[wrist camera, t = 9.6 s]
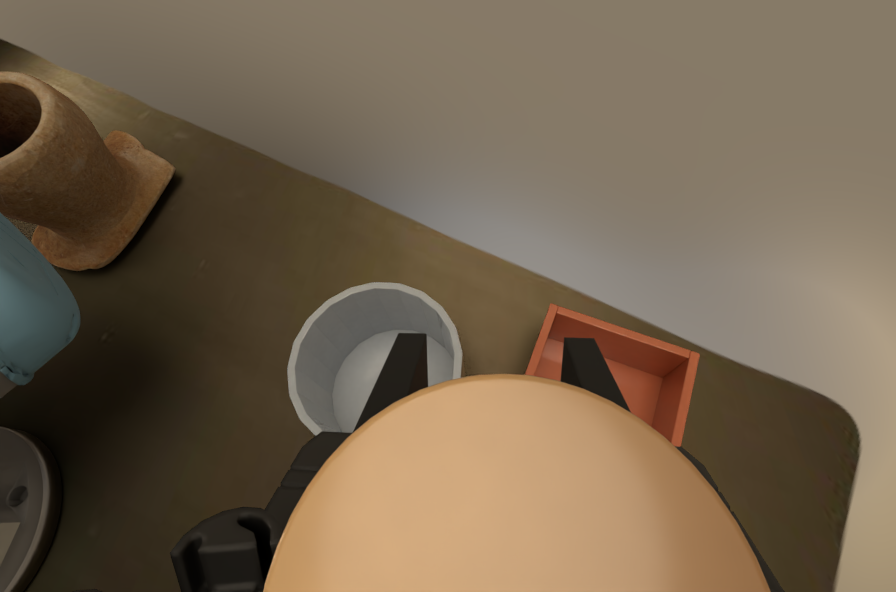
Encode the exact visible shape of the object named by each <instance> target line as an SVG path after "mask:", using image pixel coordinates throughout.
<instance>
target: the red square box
mask: <svg viewBox="0 0 896 592" xmlns="http://www.w3.org/2000/svg"><path fill="white" fill-rule="evenodd" d="M564 337H570V338H594V339H595V341H596V343H597V345H598V347H599V349H600V351H601V353H602V355H603V357H604V359H605V361H606V363H607V365H608V367H609V369H610V371H611V373H612V375H613V377H614V379H615V381H616V383H617V385H618V387H619V389H620V391H621V393H622V395H623V397H624V399H625V401H626V403H627V405H628V407H629V409H630V411H631V413H632V414H634V415H636V416H637V417H639V418H640V419H642V420H643V421H644V422H646V423H647V424H648V425H649V426H651V427H652V428H653V429H655V430H656V431H657V432H659V433H660V434H661V435H663V436H664V437H665V438H666V439H667V440H668V441H669V442H671V443H672V444H673V445H674V446H678V447H681V443H682V438H683V433H684V428H685V423H686V419H687V414H688V409H689V404H690V400H691V395H692V390H693V385H694V380H695V376H696V371H697V366H698V361H699V356H700V354H699V353H696V352H693V351H690V350H687V349H684V348H681V347H678V346H675V345H672V344H669V343H667V342H664V341H661V340H658V339H655V338H652V337H649V336H646V335H643V334H640V333H637V332H634V331H631V330H628V329H625V328H622V327H619V326H616V325H613V324H610V323H607V322H604V321H601V320H599V319H596V318H593V317H590V316H587V315H584V314H581V313H578V312H575V311H572V310H569V309H566V308H563V307H560V306H559V307H558V305H555V304H552V303H551V304H550V306H549V309H548V312H547V314H546V317H545V320H544V323H543V325H542V328H541V331H540V334H539V336H538V339H537V342H536V345H535V347H534V350H533V353H532V356H531V358H530V361H529V364H528V367H527V369H526V372H525V375H531V376H537V377H542V378H548V379H553V380H558V381H561V369H562V357H563V345H564Z"/></svg>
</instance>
